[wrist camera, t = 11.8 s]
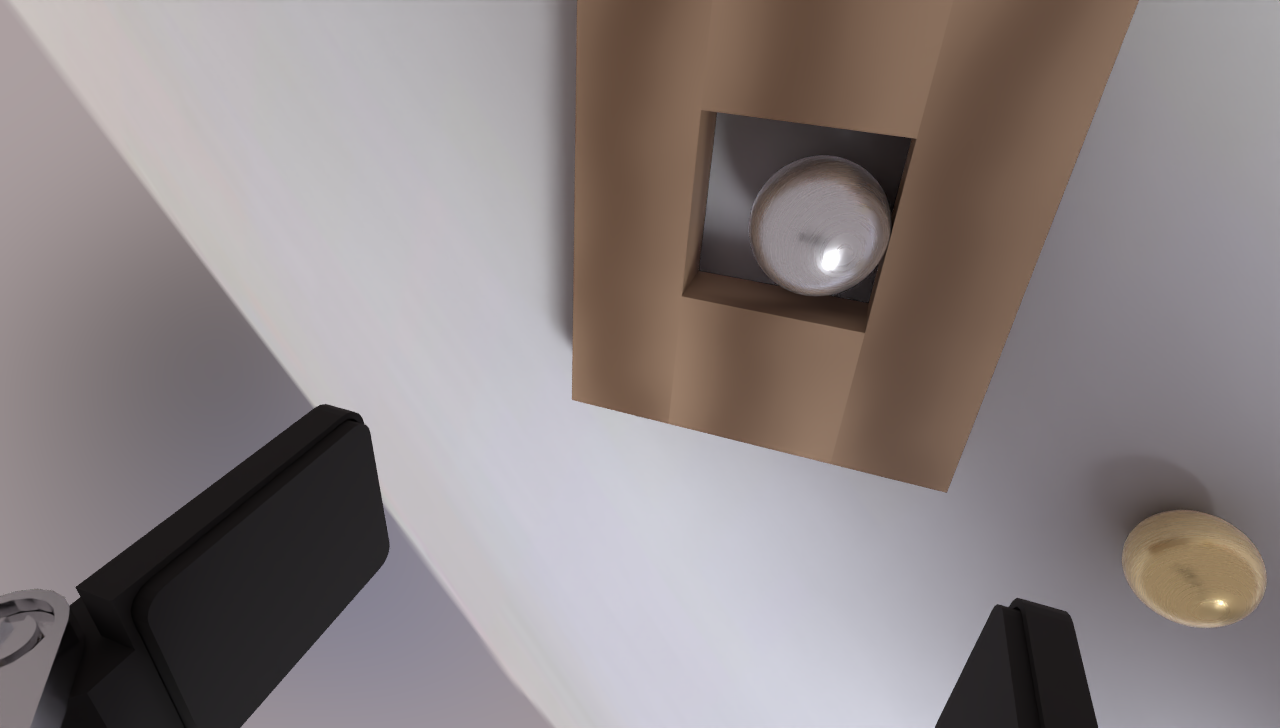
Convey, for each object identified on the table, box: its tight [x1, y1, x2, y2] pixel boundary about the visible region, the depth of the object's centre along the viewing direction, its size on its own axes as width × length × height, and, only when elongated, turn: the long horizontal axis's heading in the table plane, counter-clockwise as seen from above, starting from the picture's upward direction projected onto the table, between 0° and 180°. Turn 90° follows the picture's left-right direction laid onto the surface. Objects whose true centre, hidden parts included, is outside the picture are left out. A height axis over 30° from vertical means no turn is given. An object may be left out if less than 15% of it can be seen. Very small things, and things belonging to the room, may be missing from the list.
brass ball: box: [1122, 510, 1267, 628], centre depth 25 cm, size 4×4×4 cm
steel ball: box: [749, 155, 891, 296], centre depth 23 cm, size 4×4×4 cm
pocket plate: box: [572, 0, 1139, 493], centre depth 24 cm, size 15×18×2 cm
